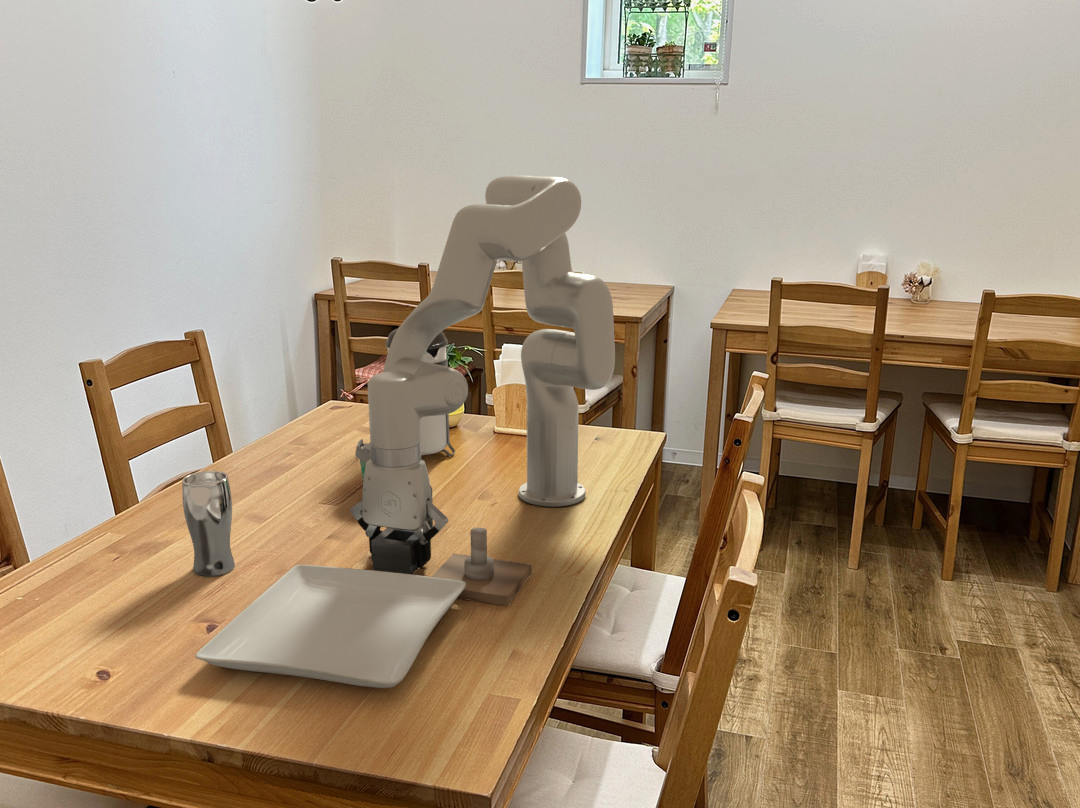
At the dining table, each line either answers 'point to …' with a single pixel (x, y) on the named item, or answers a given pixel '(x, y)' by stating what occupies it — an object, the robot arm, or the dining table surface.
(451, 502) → the dining table surface
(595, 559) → the dining table surface
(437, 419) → the coffee press
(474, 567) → the shaft block
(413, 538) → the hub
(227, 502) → the beer glass
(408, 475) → the robot arm
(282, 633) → the square plate
